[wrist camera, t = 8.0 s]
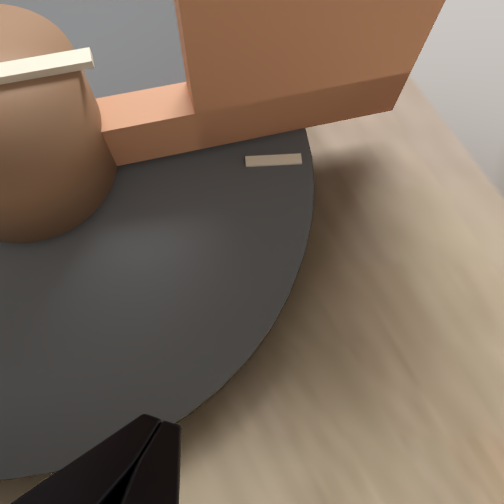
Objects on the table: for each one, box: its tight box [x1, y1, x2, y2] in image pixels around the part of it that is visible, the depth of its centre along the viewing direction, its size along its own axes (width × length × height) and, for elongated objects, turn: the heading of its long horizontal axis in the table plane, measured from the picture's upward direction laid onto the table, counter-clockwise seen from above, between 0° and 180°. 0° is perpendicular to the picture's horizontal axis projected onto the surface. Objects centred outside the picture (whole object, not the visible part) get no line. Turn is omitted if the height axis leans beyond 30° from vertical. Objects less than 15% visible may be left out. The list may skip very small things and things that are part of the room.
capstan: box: [0, 0, 445, 243], centre depth 15 cm, size 20×7×10 cm, turn 105°
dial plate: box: [0, 0, 314, 480], centre depth 20 cm, size 24×24×2 cm
